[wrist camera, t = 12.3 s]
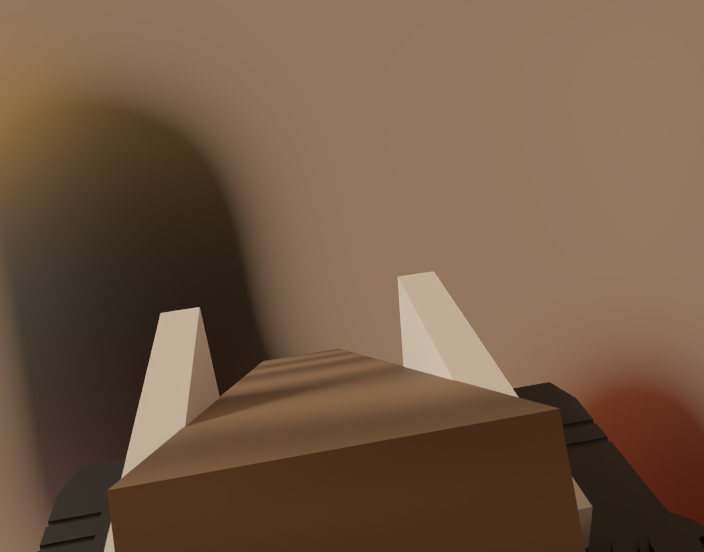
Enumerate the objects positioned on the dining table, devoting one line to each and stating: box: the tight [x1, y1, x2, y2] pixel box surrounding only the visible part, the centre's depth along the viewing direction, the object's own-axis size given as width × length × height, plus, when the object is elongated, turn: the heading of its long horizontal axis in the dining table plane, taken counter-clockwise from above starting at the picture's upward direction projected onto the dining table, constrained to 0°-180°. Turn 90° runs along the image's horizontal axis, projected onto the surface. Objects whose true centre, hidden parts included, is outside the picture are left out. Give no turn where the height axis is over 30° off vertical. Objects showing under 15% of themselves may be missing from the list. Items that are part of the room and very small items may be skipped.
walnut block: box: [107, 349, 586, 552], centre depth 19 cm, size 28×4×4 cm, turn 5°
